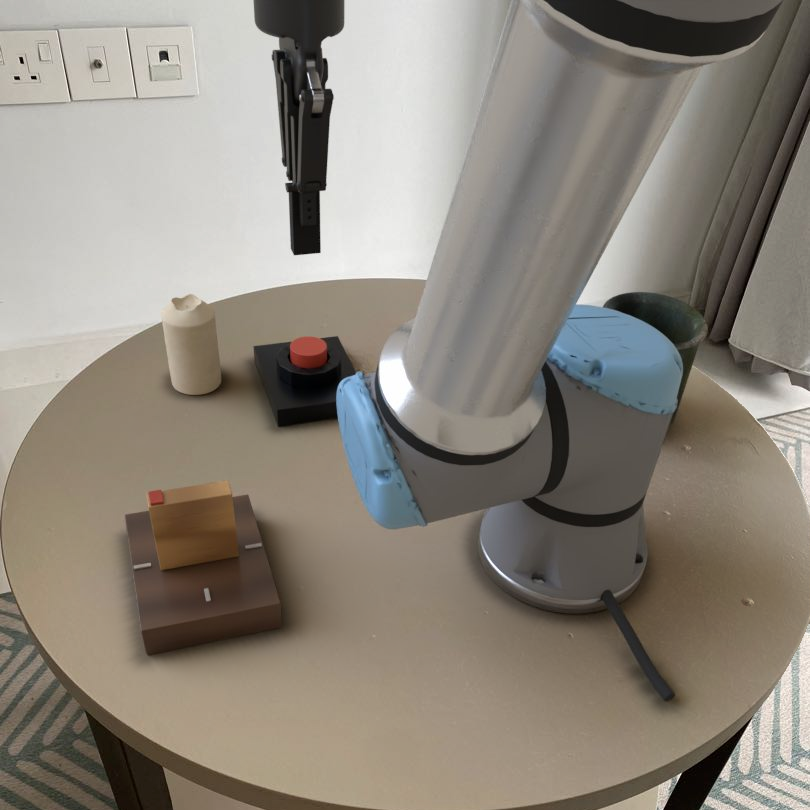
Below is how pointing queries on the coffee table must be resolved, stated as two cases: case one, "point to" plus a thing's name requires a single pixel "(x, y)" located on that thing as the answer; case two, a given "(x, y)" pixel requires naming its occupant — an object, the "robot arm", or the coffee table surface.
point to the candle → (191, 345)
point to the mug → (666, 325)
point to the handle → (193, 524)
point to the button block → (302, 382)
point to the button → (308, 352)
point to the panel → (202, 588)
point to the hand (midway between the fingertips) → (305, 250)
